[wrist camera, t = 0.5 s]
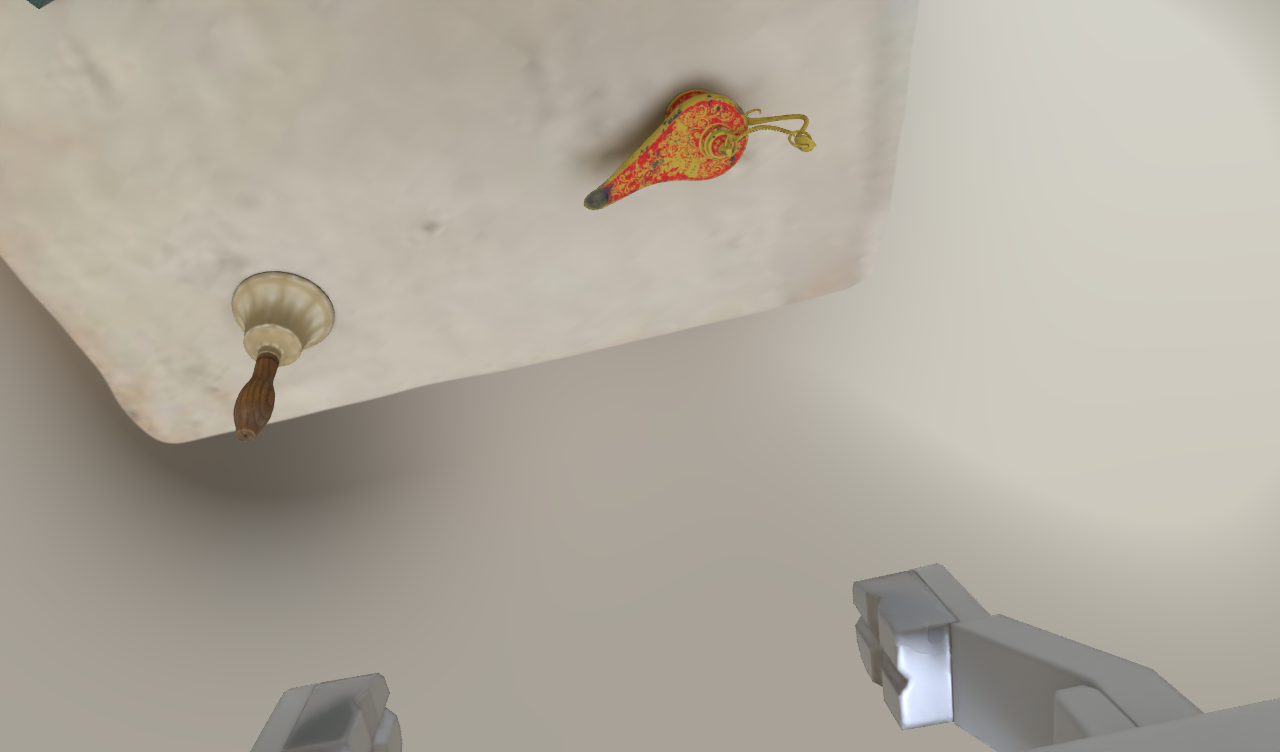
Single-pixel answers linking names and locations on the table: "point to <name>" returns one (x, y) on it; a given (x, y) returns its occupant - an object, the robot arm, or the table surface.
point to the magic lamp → (691, 145)
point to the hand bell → (274, 337)
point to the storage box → (40, 3)
